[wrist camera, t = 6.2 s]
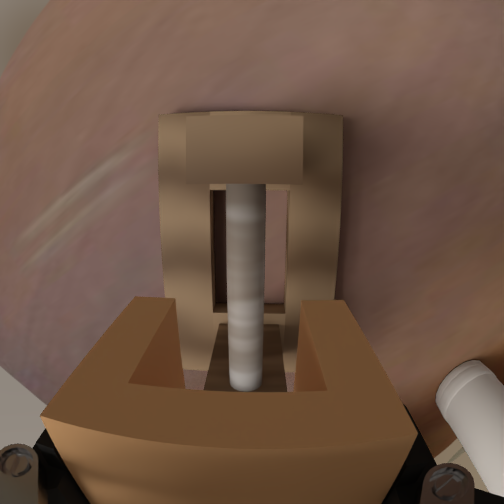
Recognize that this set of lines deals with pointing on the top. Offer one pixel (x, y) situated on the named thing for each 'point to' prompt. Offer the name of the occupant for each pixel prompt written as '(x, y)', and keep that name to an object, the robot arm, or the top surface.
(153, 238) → the top surface
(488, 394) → the bottle
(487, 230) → the top surface
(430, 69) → the top surface
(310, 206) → the tan frame
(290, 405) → the notched block
